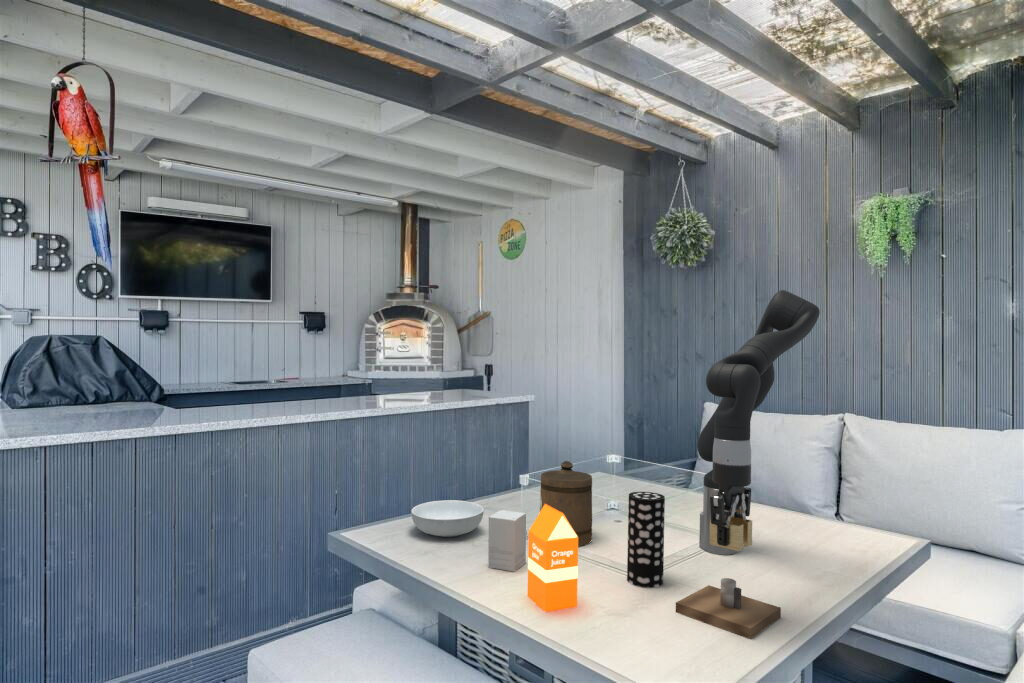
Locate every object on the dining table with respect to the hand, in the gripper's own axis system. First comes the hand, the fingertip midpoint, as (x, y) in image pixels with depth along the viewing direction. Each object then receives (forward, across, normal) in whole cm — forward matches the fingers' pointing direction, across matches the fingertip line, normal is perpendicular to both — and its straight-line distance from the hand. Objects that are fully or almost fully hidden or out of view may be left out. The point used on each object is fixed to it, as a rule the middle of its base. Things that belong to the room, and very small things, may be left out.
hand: (730, 541), depth 130 cm
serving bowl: (+15, -8, +82) cm, 84 cm away
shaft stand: (+15, 0, 0) cm, 15 cm away
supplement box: (+15, -14, +51) cm, 55 cm away
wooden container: (+15, +13, +55) cm, 59 cm away
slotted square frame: (+1, 0, 0) cm, 1 cm away
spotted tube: (+15, +3, +22) cm, 27 cm away
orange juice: (+15, -22, +29) cm, 40 cm away
